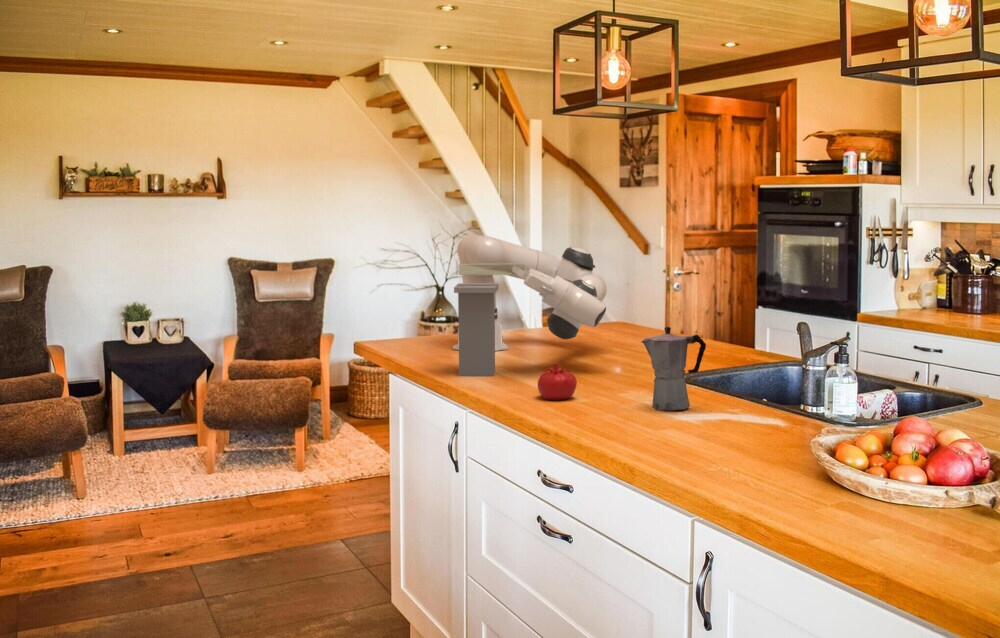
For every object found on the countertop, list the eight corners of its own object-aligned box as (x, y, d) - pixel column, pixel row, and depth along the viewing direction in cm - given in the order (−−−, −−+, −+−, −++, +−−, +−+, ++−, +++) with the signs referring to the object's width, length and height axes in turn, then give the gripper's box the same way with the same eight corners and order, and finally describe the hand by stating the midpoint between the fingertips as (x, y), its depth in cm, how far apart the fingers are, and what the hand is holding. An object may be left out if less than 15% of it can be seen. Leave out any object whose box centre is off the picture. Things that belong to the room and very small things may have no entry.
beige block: (459, 273, 276) (459, 263, 276) (524, 273, 275) (524, 263, 275) (458, 274, 273) (458, 264, 272) (524, 274, 272) (524, 264, 271)
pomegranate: (579, 402, 238) (579, 366, 236) (539, 402, 237) (540, 366, 235) (572, 393, 247) (573, 359, 246) (535, 394, 247) (535, 359, 245)
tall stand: (459, 368, 285) (458, 283, 282) (498, 368, 284) (498, 283, 281) (455, 377, 271) (454, 287, 268) (496, 377, 271) (496, 287, 267)
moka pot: (639, 403, 235) (640, 324, 233) (701, 404, 234) (703, 324, 231) (641, 411, 226) (642, 329, 223) (706, 412, 224) (708, 329, 222)
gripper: (549, 304, 264) (506, 279, 263) (548, 296, 284) (508, 274, 284) (560, 284, 263) (517, 260, 263) (559, 278, 283) (519, 256, 283)
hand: (513, 267), depth 273 cm, fingers closed on beige block, 3 cm apart
